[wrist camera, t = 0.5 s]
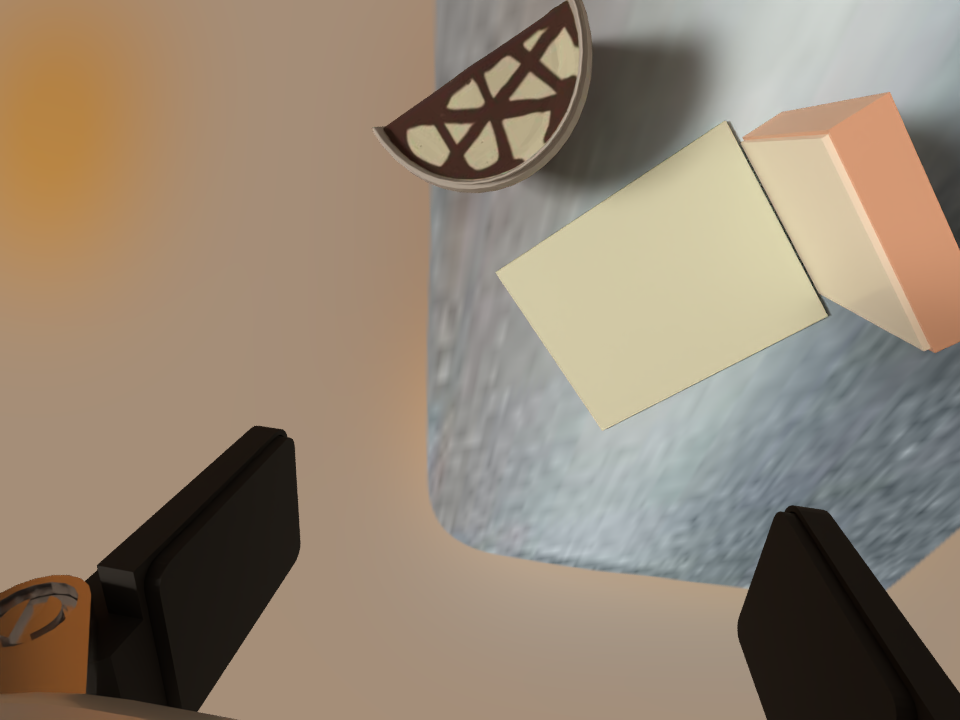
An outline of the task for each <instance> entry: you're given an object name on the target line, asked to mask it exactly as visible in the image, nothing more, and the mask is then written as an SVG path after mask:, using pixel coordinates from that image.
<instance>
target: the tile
mask: <svg viewBox="0 0 960 720" xmlns="http://www.w3.org/2000/svg"><path fill="white" fill-rule="evenodd" d="M743 139H744V141H742V142H741V145H742V147H743V149H744V151H745V153H746V155H747V157H748V159H749V161H750V163H751V164H752V166H753V168H754V170H755V172H756V174H757V176H758V178H759V180H760V182H761V184H762V186H763V188H764V189H765V191H766V193H767V195H768V197H769V199H770V201H771V203H772V205H773V207H774V209H775V211H776V212H777V214H778V216H779V218H780V220H781V222H782V224H783V226H784V228H785V230H786V232H787V234H788V235H789V237H790V239H791V241H792V243H793V245H794V247H795V249H796V251H797V253H798V255H799V257H800V258H801V260H802V262H803V264H804V266H805V268H806V270H807V272H808V274H809V276H810V278H811V280H812V282H813V283H814V285H815V287H816V289H817V291H818V293H819V294H821V295H823V296H825V297H826V298H828V299H830V300H832V301H834V302H835V303H837V304H839V305H841V306H843V307H845V308H846V309H848V310H850V311H852V312H854V313H855V314H857V315H859V316H861V317H863V318H864V319H866V320H868V321H870V322H872V323H874V324H875V325H877V326H879V327H881V328H883V329H884V330H886V331H888V332H890V333H892V334H893V335H895V336H897V337H899V338H901V339H903V340H904V341H906V342H908V343H910V344H912V345H913V346H915V347H917V348H919V349H921V350H922V351H926V350H930V351H932V352H934V353H936V352H938V351H940V350H943V349H945V348H947V347H949V346H951V345H954V344H956V343H958V342H960V250H959V248H958V245H957V243H956V241H955V238H954V236H953V234H952V232H951V229H950V227H949V225H948V223H947V220H946V218H945V216H944V214H943V211H942V209H941V207H940V205H939V202H938V200H937V198H936V195H935V193H934V191H933V189H932V186H931V184H930V182H929V180H928V177H927V175H926V173H925V171H924V168H923V166H922V164H921V162H920V159H919V157H918V155H917V153H916V150H915V148H914V146H913V143H912V141H911V139H910V137H909V134H908V132H907V130H906V128H905V125H904V123H903V121H902V119H901V116H900V114H899V112H898V110H897V107H896V105H895V103H894V100H893V98H892V96H891V94H890V92H887V93H881V94H876V95H871V96H865V97H860V98H854V99H849V100H844V101H838V102H833V103H828V104H822V105H817V106H812V107H806V108H801V109H796V110H790V111H785V112H781V113H779V114H778V115H776V116H775V117H773V118H772V119H770V120H768V121H767V122H765V123H764V124H762V125H761V126H759V127H758V128H756V129H755V130H753V131H751V132H750V133H748V134H747V135H745V136H744V137H743Z"/></svg>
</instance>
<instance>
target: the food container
mask: <svg viewBox="0 0 960 720" xmlns="http://www.w3.org/2000/svg"><path fill="white" fill-rule="evenodd" d="M592 58H593V55H592V40H591V31H590V27H589V22H588V17H587V13H586V10H585V7H584V4H583V2H582V0H565V2H563V3H562V4H560V5H559V6H557V7H555V8H553V9H552V10H551V11H550V12H549V13H548V14H546V15H545V16H544V17H542V18H541V19H540V20H538V21H537V22H535V23H534V24H532V25H531V26H530V27H528V28H527V29H525V30H524V31H522V32H521V33H519V34H518V35H516V36H515V37H513V38H512V39H510V40H509V41H508V42H506V43H505V44H503V45H502V46H500V47H499V48H497V49H496V50H494V51H493V52H491V53H490V54H488V55H487V56H485V57H484V58H482V59H481V60H479V61H477V62H476V63H474V64H473V65H471V66H470V67H468V68H467V69H466V70H464V71H463V72H462V73H460V74H459V75H457V76H456V77H455V78H453V79H452V80H451V81H449V82H448V83H447V84H445V85H444V86H443V87H441V88H440V89H438V90H437V91H435V92H434V93H433V94H431V95H430V96H429V97H427V98H426V99H424V100H423V101H421V102H420V103H419V104H417V105H416V106H414V107H413V108H411V109H410V110H408V111H407V112H406V113H404V114H403V115H401V116H400V117H398V118H397V119H396V120H394V121H393V122H391V123H390V124H389V125H387V126H386V127H373V133H374V134H375V136H376V137H377V139H378V140H379V141H380V143H381V144H382V146H383V147H384V148H385V149H386V150H387V151H388V152H389V153H390V154H391V155H392V157H393V158H394V159H395V160H397V161H398V162H399V163H400V164H401V165H403V166H404V167H405V168H406V169H408V170H409V171H410V172H411V173H413V174H414V175H416V176H417V177H419V178H421V179H423V180H425V181H426V182H428V183H430V184H433V185H435V186H438V187H441V188H443V189H447V190H452V191H457V192H465V193H482V192H489V191H496V190H499V189H503V188H506V187H509V186H512V185H514V184H516V183H518V182H520V181H522V180H524V179H526V178H528V177H530V176H531V175H533V174H534V173H535V172H537V171H538V170H540V169H541V168H542V167H544V166H545V165H546V164H547V163H548V162H549V161H550V160H551V159H552V158H553V157H554V156H555V155H556V154H557V153H558V152H559V150H560V149H561V148H562V146H563V145H564V144H565V142H566V141H567V140H568V138H569V137H570V135H571V133H572V131H573V129H574V128H575V126H576V124H577V122H578V120H579V118H580V115H581V112H582V110H583V107H584V104H585V102H586V99H587V94H588V90H589V85H590V80H591V71H592Z"/></svg>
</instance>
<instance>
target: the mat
mask: <svg viewBox="0 0 960 720" xmlns="http://www.w3.org/2000/svg"><path fill="white" fill-rule="evenodd" d="M496 274H497V275H498V277H499V278H500V280H501V281H502V283H503V284H504V286H505V287H506V289H507V290H508V292H509V293H510V295H511V296H512V298H513V299H514V301H515V302H516V304H517V305H518V307H519V308H520V309H521V311H522V312H523V314H524V315H525V317H526V318H527V320H528V321H529V323H530V324H531V326H532V327H533V329H534V330H535V332H536V333H537V335H538V336H539V338H540V339H541V341H542V342H543V344H544V345H545V347H546V348H547V350H548V351H549V352H550V354H551V355H552V357H553V358H554V360H555V361H556V363H557V364H558V366H559V367H560V369H561V370H562V372H563V373H564V375H565V376H566V378H567V379H568V381H569V382H570V384H571V385H572V387H573V388H574V390H575V391H576V393H577V394H578V395H579V397H580V398H581V400H582V401H583V403H584V404H585V406H586V407H587V409H588V410H589V412H590V413H591V415H592V416H593V418H594V419H595V421H596V422H597V424H598V425H599V427H600V428H601V430H602V431H603V430H605V429H607V428H609V427H611V426H613V425H615V424H617V423H618V422H620V421H622V420H624V419H626V418H628V417H630V416H632V415H634V414H636V413H638V412H640V411H642V410H644V409H646V408H648V407H650V406H652V405H654V404H656V403H658V402H660V401H662V400H664V399H666V398H668V397H670V396H672V395H674V394H676V393H678V392H680V391H681V390H683V389H685V388H687V387H689V386H691V385H693V384H695V383H697V382H699V381H701V380H703V379H705V378H707V377H709V376H711V375H713V374H715V373H717V372H719V371H721V370H723V369H725V368H727V367H729V366H731V365H733V364H735V363H737V362H739V361H741V360H743V359H744V358H746V357H748V356H750V355H752V354H754V353H756V352H758V351H760V350H762V349H764V348H766V347H768V346H770V345H772V344H774V343H776V342H778V341H780V340H782V339H784V338H786V337H788V336H790V335H792V334H794V333H796V332H798V331H800V330H802V329H804V328H806V327H807V326H809V325H811V324H813V323H815V322H817V321H819V320H821V319H823V318H825V317H827V316H828V315H827V313H826V311H825V309H824V307H823V306H822V304H821V302H820V300H819V298H818V296H817V294H816V292H815V290H814V288H813V286H812V285H811V283H810V281H809V279H808V277H807V275H806V273H805V271H804V269H803V267H802V265H801V263H800V262H799V260H798V258H797V256H796V254H795V252H794V250H793V248H792V246H791V244H790V242H789V241H788V239H787V237H786V235H785V233H784V231H783V229H782V227H781V225H780V223H779V221H778V219H777V218H776V216H775V214H774V212H773V210H772V208H771V206H770V204H769V202H768V200H767V198H766V197H765V195H764V193H763V191H762V189H761V187H760V185H759V183H758V181H757V179H756V177H755V175H754V174H753V172H752V170H751V168H750V166H749V164H748V162H747V160H746V158H745V156H744V154H743V153H742V151H741V149H740V147H739V145H738V143H737V141H736V139H735V137H734V135H733V133H732V131H731V130H730V128H729V126H728V124H727V122H726V121H724V122H722V123H721V124H719V125H718V126H716V127H715V128H713V129H711V130H710V131H708V132H707V133H705V134H704V135H702V136H701V137H699V138H698V139H696V140H695V141H693V142H692V143H690V144H689V145H687V146H686V147H684V148H683V149H681V150H680V151H678V152H677V153H675V154H674V155H672V156H671V157H669V158H668V159H666V160H665V161H663V162H662V163H660V164H659V165H657V166H656V167H654V168H653V169H651V170H650V171H648V172H646V173H645V174H643V175H642V176H640V177H639V178H637V179H636V180H634V181H633V182H631V183H630V184H628V185H627V186H625V187H624V188H622V189H621V190H619V191H618V192H616V193H615V194H613V195H612V196H610V197H609V198H607V199H606V200H604V201H603V202H601V203H600V204H598V205H597V206H595V207H594V208H592V209H591V210H589V211H588V212H586V213H585V214H583V215H581V216H580V217H578V218H577V219H575V220H574V221H572V222H571V223H569V224H568V225H566V226H565V227H563V228H562V229H560V230H559V231H557V232H556V233H554V234H553V235H551V236H550V237H548V238H547V239H545V240H544V241H542V242H541V243H539V244H538V245H536V246H535V247H533V248H532V249H530V250H529V251H527V252H526V253H524V254H523V255H521V256H520V257H518V258H516V259H515V260H513V261H512V262H510V263H509V264H507V265H506V266H504V267H503V268H501V269H500V270H498V271H497V272H496Z"/></svg>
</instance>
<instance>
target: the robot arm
mask: <svg viewBox="0 0 960 720" xmlns="http://www.w3.org/2000/svg"><path fill="white" fill-rule="evenodd" d="M296 479H297V478H296V462H295V446H294V441H293V439H291V438H288V437H287V434H286V432H285V431H284V430H283V429H276V428H269V427H262V426H254V427H252V428H251V429H250V430H249V431H247V432H246V433H245V434H244V435H243V436H242V437H241V438H240V439H238V440H237V441H236V442H235V443H234V444H233V445H232V446H231V447H229V448H228V449H227V450H226V451H225V452H224V453H223V454H222V455H220V456H219V457H218V458H217V459H216V460H215V461H214V462H213V463H211V464H210V465H209V466H208V467H207V468H206V469H205V470H204V471H202V472H201V473H200V474H199V475H198V476H197V477H196V478H195V479H193V480H192V481H191V482H190V483H189V484H188V485H187V486H186V487H184V488H183V489H182V490H181V491H180V492H179V493H178V494H177V495H175V496H174V497H173V498H172V499H171V500H170V501H169V502H168V503H166V504H165V505H164V506H163V507H162V508H161V509H160V510H159V511H158V512H156V513H155V514H154V515H153V516H152V517H151V518H150V519H149V520H147V521H146V522H145V523H144V524H143V525H142V526H141V527H139V528H138V529H137V530H136V531H135V532H134V533H133V534H132V535H130V536H129V537H128V538H127V539H126V540H125V541H124V542H123V543H122V544H120V545H119V546H118V547H117V548H116V549H115V550H114V551H112V552H111V553H110V554H109V555H108V556H107V557H106V558H105V559H103V560H102V561H101V562H100V563H99V564H98V565H97V568H98V570H97V571H96V572H95V573H94V574H93V575H91V576H90V577H89V578H88V579H87V580H86V581H84V580H82V579H81V578H78V577H74V576H71V575H51V576H45V577H40V578H35V579H32V580H29V581H26V582H23V583H20V584H18V585H15V586H13V587H11V588H9V589H7V590H5V591H3V592H1V593H0V720H237V719H231V718H226V717H221V716H216V715H210V714H205V713H199V712H197V711H198V710H199V708H200V707H201V706H202V704H203V703H204V701H205V699H206V698H207V696H208V695H209V693H210V692H211V690H212V689H213V687H214V686H215V684H216V683H217V681H218V680H219V678H220V676H221V675H222V673H223V672H224V670H225V669H226V667H227V665H228V664H229V663H230V661H231V660H232V658H233V657H234V655H235V653H236V652H237V650H238V649H239V647H240V646H241V644H242V643H243V641H244V640H245V638H246V637H247V635H248V634H249V632H250V631H251V629H252V628H253V626H254V624H255V623H256V621H257V620H258V618H259V617H260V615H261V614H262V612H263V610H264V609H265V608H266V606H267V604H268V603H269V601H270V600H271V598H272V597H273V595H274V594H275V592H276V590H277V589H278V588H279V586H280V584H281V583H282V581H283V580H284V579H285V577H286V575H287V574H288V572H289V571H290V569H291V568H292V566H293V565H294V563H295V561H296V560H297V557H298V554H299V550H300V529H299V512H298V495H297V480H296ZM738 638H739V642H740V644H741V647H742V650H743V653H744V656H745V658H746V662H747V664H748V667H749V670H750V673H751V676H752V678H753V681H754V684H755V687H756V690H757V693H758V695H759V698H760V701H761V704H762V707H763V709H764V712H765V715H766V718H767V720H960V693H959V692H958V690H957V689H956V687H955V686H954V685H953V683H952V682H951V680H950V679H949V678H948V676H947V675H946V674H945V672H944V671H943V669H942V668H941V667H940V665H939V664H938V663H937V661H936V660H935V658H934V657H933V656H932V654H931V653H930V651H929V650H928V649H927V648H926V646H925V645H924V643H923V642H922V640H921V639H920V638H919V636H918V635H917V633H916V632H915V631H914V629H913V628H912V627H911V625H910V624H909V622H908V621H907V620H906V619H905V617H904V616H903V614H902V613H901V612H900V610H899V609H898V607H897V606H896V604H895V603H894V602H893V600H892V599H891V598H890V596H889V595H888V593H887V592H886V591H885V589H884V588H883V587H882V585H881V584H880V582H879V581H878V580H877V578H876V577H875V576H874V574H873V573H872V571H871V570H870V569H869V567H868V566H867V564H866V563H865V562H864V560H863V559H862V558H861V556H860V555H859V553H858V552H857V551H856V549H855V548H854V547H853V545H852V544H851V542H850V541H849V540H848V538H847V537H846V535H845V534H844V533H843V531H842V530H841V529H840V527H839V526H838V524H837V523H836V522H835V520H834V519H833V518H832V516H831V515H830V514H829V513H828V512H827V511H825V510H821V509H814V508H807V507H800V506H794V505H792V506H789V507H788V508H787V509H786V510H785V512H777V514H776V515H775V517H774V519H773V522H772V525H771V527H770V530H769V533H768V536H767V539H766V542H765V545H764V547H763V550H762V553H761V556H760V559H759V562H758V565H757V567H756V570H755V573H754V576H753V579H752V582H751V585H750V587H749V590H748V593H747V596H746V599H745V602H744V605H743V607H742V610H741V613H740V616H739V619H738Z"/></svg>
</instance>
